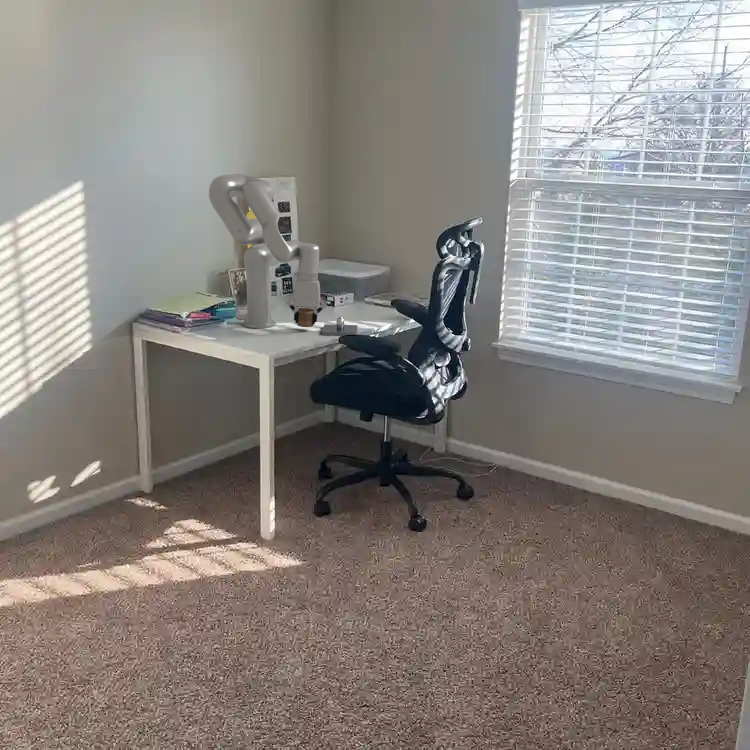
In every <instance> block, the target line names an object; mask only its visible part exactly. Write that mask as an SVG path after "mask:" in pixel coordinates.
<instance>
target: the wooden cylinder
mask: <svg viewBox="0 0 750 750" xmlns="http://www.w3.org/2000/svg"><path fill="white" fill-rule="evenodd" d="M313 314H314V310H313V308H308V307H299V308H298V320H297V323H296V326H298V327H300V328H301V327H302V328H312V327H314V325H313Z"/></svg>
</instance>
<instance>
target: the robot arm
mask: <svg viewBox="0 0 750 750" xmlns="http://www.w3.org/2000/svg"><path fill="white" fill-rule="evenodd" d="M235 197H236V198H237V197H241V198H243V199H244V201H245V202H246V204H247V205H248V207H249V208H250V210H251V211H252V213H253V215H254V216H255V218H248V217H247V216H246V215H245V213H244V212H243V210H242V208H241V207H240V205H238V203H236V202H235V201H234V200H233V199H232V198H235ZM274 197H275V189H274V187H273V185H272V184H271V182H269V181H266V180H263V179H262V178H261V179H260V178H257V177H253V176H248V175H245V174H241V173H233V174H232V173H231V174H222V175H219V176H217V177H215V178H213V180H211V183H210V184H209V188H208V198H209V202H210V204H211V206H212V208H213V209H214V210H215V212H216V214H217V215H218V216H219V218H220V220H221V221H222V222H223V225H224V226H225V227H226V229H227V230H228V232H229V234H230V235H231V237H232V238H233V240H234V242H235V243H236V244H238V245H239V246H248V245H249V247H248V248H247V249H246V250H245V252H244V253H243V263H244V265H243V266H244V270H245V276H246V277H245V279H246V313H244V314H240V313H239V314H237V313H236V315H235V319H236V320H238V321H243V322H242V323H243V326H244V327H245V328H248V329H249V328H250V329H268V328H273V327H275V326H276V325H277V323H276V321H275V320H273V319H272V317H273V316H272V314H273V313H272V309H273V308H272V277H271V276H272V275H271V273H270V269H269V268H271V267H275V265H277V264H278V263H282V264H286V263H287V264H288V263H289V262H293V261H298V270H297V272H294V275H293V277H296V278H297V279H295V280H294V286H293V293H292V296H291V297H290V298H288V299H287V300H286V301H285V303H286V305H287V306H288V307H289V308H290V309H291V310H292V312H293V321H294V323H295V324H297V320H298V309H299V308H311V309H313V310H314V314H313V326H315V325H316V323H317V322H318V314H319V313H321V312H322V310H324V309H325V308H326V307H327V303H326V302H325V301H324V300H323V299H322V297H321V285H320V280H318V279H319V278H318V277H319V266H320V265H319V264H320V263H319V262H320V247H319V245H318V244H315V243H306V242H303V241H300V240H294V239H293V240H287V241H286V240H285V239H284V237H283V236H282V234H281V232H280V230H279V224H278V223H279V220H280V217H281V212H280V210H279V209H278V208H277V206H276V204H275V203H274V201H273V199H274ZM250 245H251V246H250ZM320 305H321V306H320ZM319 306H320V307H319Z"/></svg>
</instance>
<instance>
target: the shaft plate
mask: <svg viewBox="0 0 750 750" xmlns="http://www.w3.org/2000/svg"><path fill="white" fill-rule="evenodd" d="M321 333H322V334H321V335H322V336H335V337H336V336H337V337H339V336H341V337H343V336H344V337H346V336H345V335H358V324H345V317H343V316H341V315H340V316H338V317H337V318H336V324H329V323H328V324H323V328H322V332H321Z"/></svg>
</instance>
